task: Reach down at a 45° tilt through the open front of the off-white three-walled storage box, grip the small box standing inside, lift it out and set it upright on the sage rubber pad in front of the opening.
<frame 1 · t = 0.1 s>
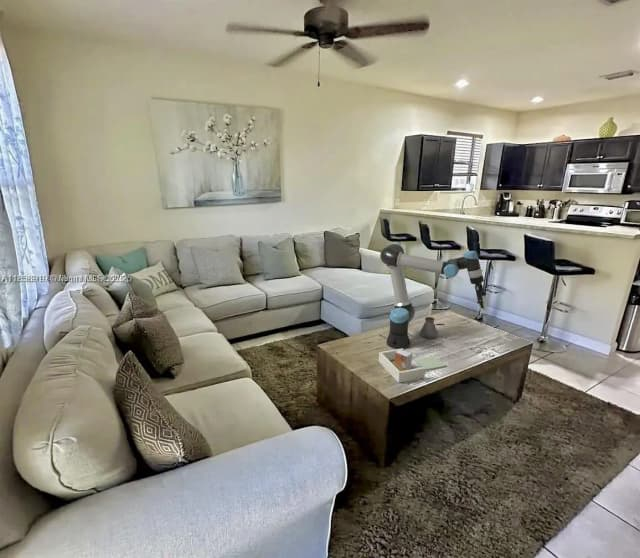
hand: (484, 309, 217), 28 cm above the table, tool tilted 20°, fingers open, 13 cm apart
sage pad: (429, 363, 210), on the table
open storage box: (402, 368, 205), on the table
coffee pot: (433, 339, 241), on the table
small box: (402, 369, 205), on the table
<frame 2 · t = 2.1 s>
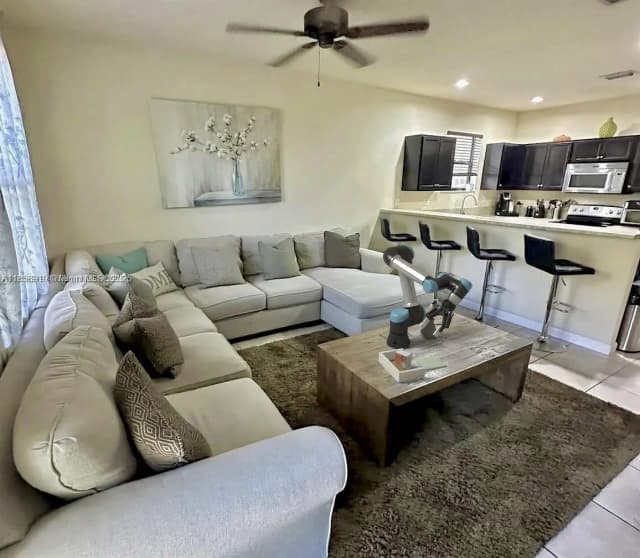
hand: (427, 331, 202), 21 cm above the table, tool tilted 45°, fingers open, 13 cm apart
nothing on the table moved.
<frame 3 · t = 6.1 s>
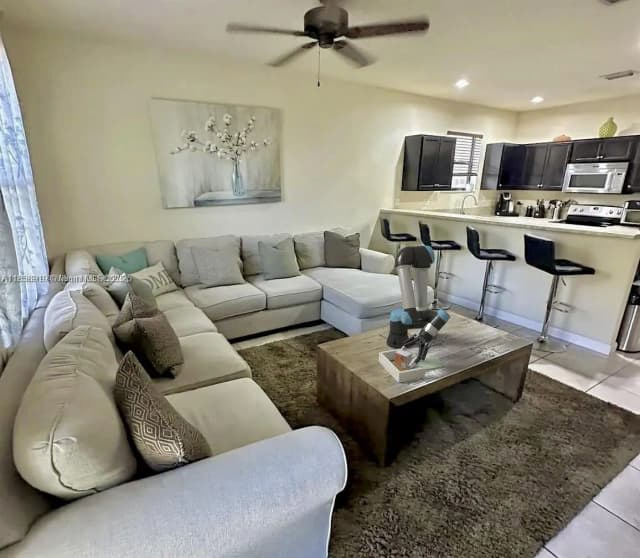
hand: (404, 361, 202), 6 cm above the table, tool tilted 45°, fingers open, 13 cm apart
nothing on the table moved.
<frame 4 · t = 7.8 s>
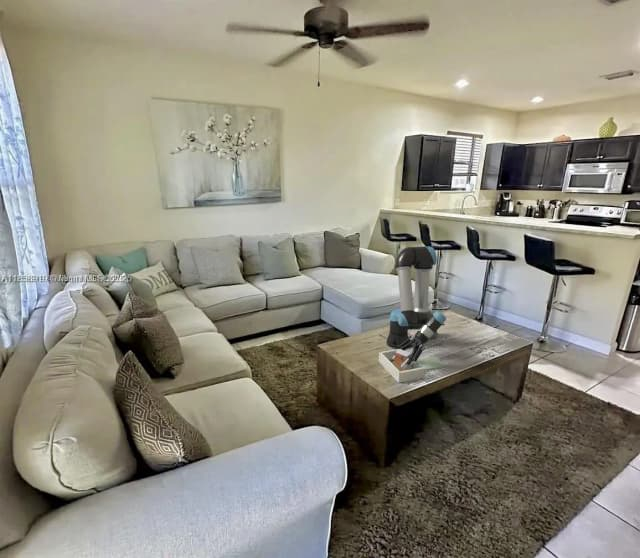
hand: (397, 363, 203), 4 cm above the table, tool tilted 45°, fingers closed on small box, 9 cm apart
small box: (402, 369, 205), on the table, touching gripper
everything else where it was.
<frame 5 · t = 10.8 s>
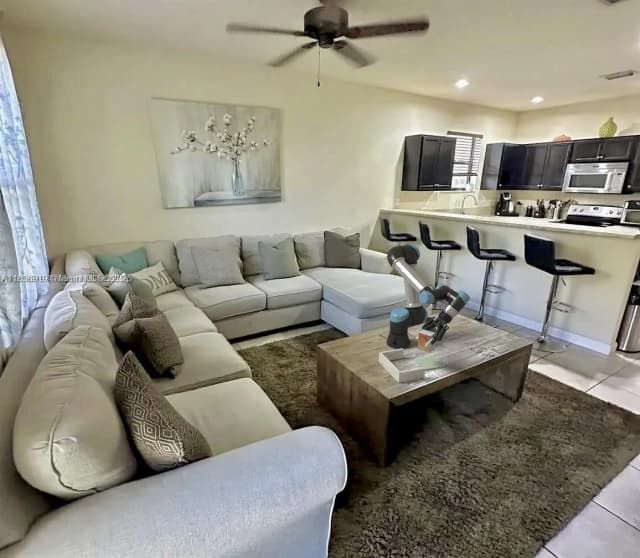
hand: (421, 343, 203), 14 cm above the table, tool tilted 45°, fingers closed on small box, 9 cm apart
small box: (426, 349, 205), point 10 cm above the table, touching gripper
everything else where it was.
when the fingers open (6 cm above the table, at t = 13.7 s): small box drops 1 cm, resting on sage pad.
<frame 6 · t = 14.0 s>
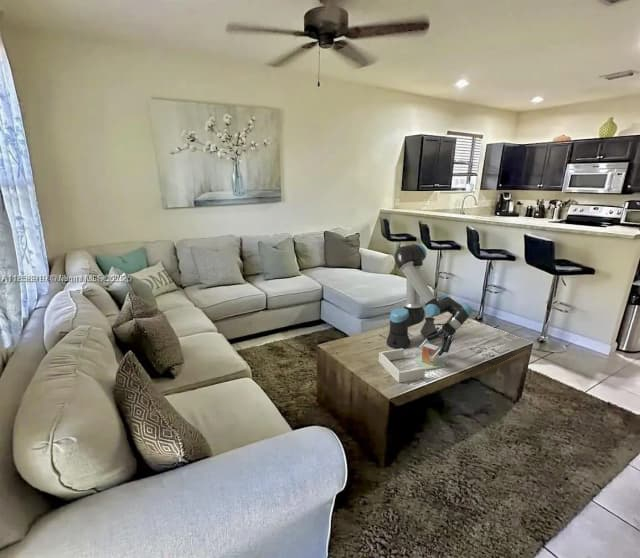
hand: (427, 353, 207), 7 cm above the table, tool tilted 45°, fingers open, 13 cm apart
small box: (429, 362, 209), point 1 cm above the table, touching sage pad
everything else where it was.
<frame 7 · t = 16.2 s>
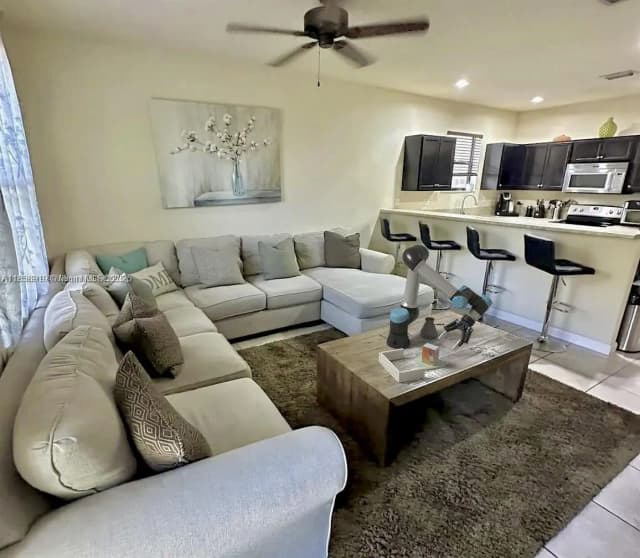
hand: (446, 344, 210), 11 cm above the table, tool tilted 45°, fingers open, 13 cm apart
nothing on the table moved.
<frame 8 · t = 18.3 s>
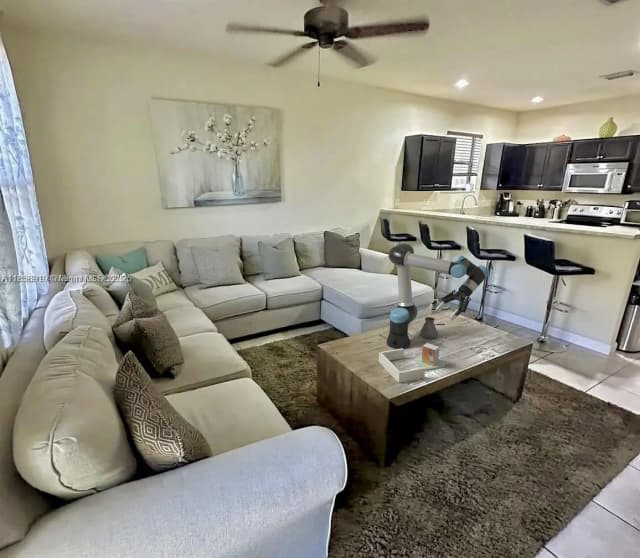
hand: (443, 314, 209), 28 cm above the table, tool tilted 45°, fingers open, 13 cm apart
nothing on the table moved.
at the end: small box inside the target area (0.1 cm from its centre), point 0.8 cm above the table; small box tilted 0°; the gripper is holding nothing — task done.
